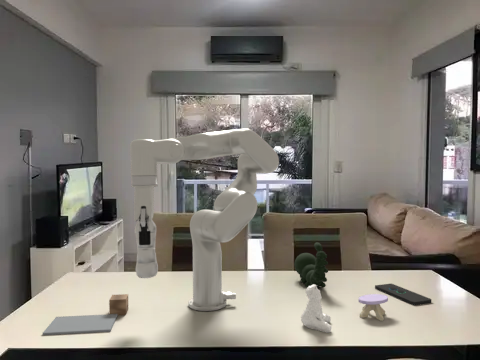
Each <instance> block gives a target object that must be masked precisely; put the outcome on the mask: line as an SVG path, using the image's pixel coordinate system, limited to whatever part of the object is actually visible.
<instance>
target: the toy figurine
mask: <svg viewBox="0 0 480 360" xmlns="http://www.w3.org/2000/svg"><path fill="white" fill-rule="evenodd" d="M313 247H314V249H315V250H316V254H315V255H314V254H312V253H309V252H303V253H300V254H299V255H297V256H296V258H295V260H294V268H295V271H296V273H297V274H298V275H299V278H300V282H301V283H303V284H305V285H304V286H305V287H306V288H307V287H308V286H311V285H312V284H314V285H317V287H319V288H321V289H323V288H326V286H327V284H326V282H327V281H328V278H327V277H326V274H327V273H329V270H328V268H327V267H326V265H329V262H328V261H327V258H328V254H326V252H325V251H323V245H322V244H321V243H320V242H315V243H314V244H313Z"/></svg>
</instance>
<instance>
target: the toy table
mask: <svg viewBox="0 0 480 360" xmlns="http://www.w3.org/2000/svg"><path fill="white" fill-rule="evenodd" d="M388 301H389V296H387V294H381V293H380V294H379V293H372V294H371V293H370V294H368V293H367V294H364V295H361V296H359V297H358V303H360V304H363V305H364V306H363V307H362V309H361V310H362V311H361V312H360V313H359V317H360V318H362V319H363V318H368V317H369V314H370V312H371V311H374V314H375V319H377V320H379V321H381V322H383V321H384V315H386V311H385V309H384V308H383V307H382V306H381V304H384V303H385V304H386V303H387V302H388Z"/></svg>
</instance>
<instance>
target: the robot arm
mask: <svg viewBox="0 0 480 360" xmlns="http://www.w3.org/2000/svg"><path fill="white" fill-rule="evenodd" d="M129 145H130V146H129V149H130V152H129V153H130V154H129V155H130V178H131V179H130V180H131V181H130V182H131V188H134V197H133V200H134V201H133V203H134V205H133V207H134V209H133V220H134V221H133V222H136V223H137V222H138V221H139V245H150V244H151V235H150V231H149V222H150V221H151V220H153V218H154V214H155V213H154V212H155V211H154V210H155V189H154V187H155V188H156V187H158V183H159V182H158V165H173V164H177V163H179V162H180V161H187V160H189V161H190V160H191V161H192V160H194V161H197V160H209V159H215V158H220V157H227V156H231V155H232V156H233V155H238V159H237V175H236V177H235V179H234V180H233V181H232V182H231V183H230V184H229V185H228V186H227V187H226V188H225V189H224V190H223V191H222V192H221V193H219V195H218V196H217V197H216V198H215V200H214V202H213V208H214V210H213V209H201V210H197V211H196V212H194V214H192V216H191V217H190V221H189V231H190V236H191V243H192V298H191V299H189V300H188V304H187V306H188V307H189V308H190V309H192V310H193V311H200V312H201V311H202V312H210V311H211V312H212V311H218V310H221V309H223V308H225V307H226V306H227V300H236V299H237V294H236V293H237V292H236V293H235V292H233V293H232V292H231V291H227V292H225V291H224V289H223V282H222V280H223V279H222V277H223V276H222V273H223V270H222V269H223V268H222V266H223V264H222V263H223V262H222V261H223V260H222V257H223V254H222V253H223V252H222V245H221V243H228V242H230V241H231V240H233V239H234V238H235V237H236V236H238V234H239V233H241V231H243V229H244V228H245V227H246V226H247V225H248V224H249V223H250V222H251V221H252V220H253V218H254V217H255V215H256V213H257V210H258V201H257V198H256V196H255V194H256V192H257V189H258V181H257V180H258V179H257V174H272V173H273V172H275V171H276V170H277V169H278V167H279V164H280V160H279V155H278V153H277V151H275V149H274V148H273V147H272V146H271V145H270V144H269V143H268V142H267V141H266V140H265V139H264V138H262V137H261V136H260V135H259V134H258V133H256V131H254V130H253V129H250V128H237V129H236V128H235V129H227V130H220V131H210V132H201V133H194V134H192V135H187V136H181V137H172V138H164V139H156V140H154V139H149V138H143V139H134V140H132V141H131V142H130V144H129ZM146 219H148V220H146Z"/></svg>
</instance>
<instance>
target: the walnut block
mask: <svg viewBox="0 0 480 360" xmlns="http://www.w3.org/2000/svg"><path fill="white" fill-rule="evenodd" d="M108 305H109V306H108V307H109V308H108V309H109V310H108V311H109V313H108V314H118V316H126V315H127V314H128V311H129V293H127V294H125V293H123V294H122V293H121V294H111V296H110V298H109V302H108Z"/></svg>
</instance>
